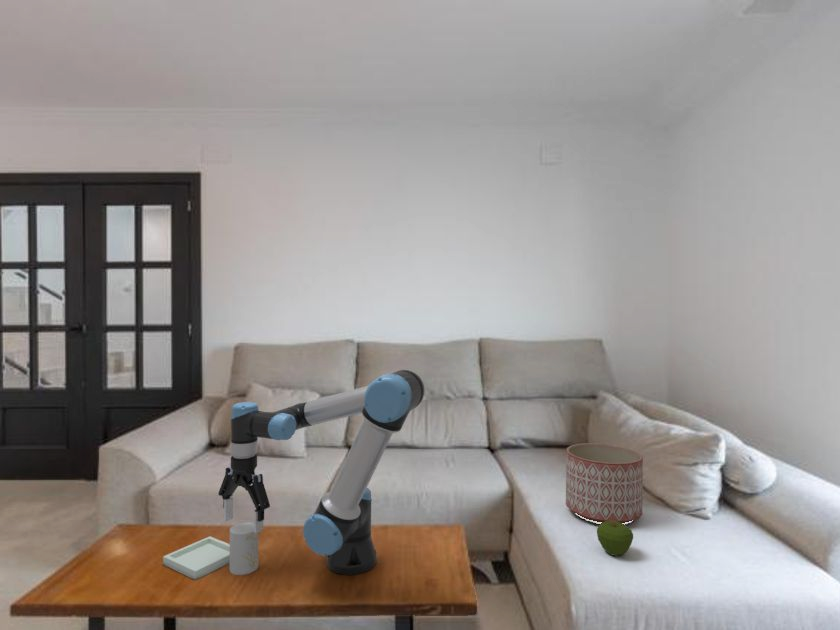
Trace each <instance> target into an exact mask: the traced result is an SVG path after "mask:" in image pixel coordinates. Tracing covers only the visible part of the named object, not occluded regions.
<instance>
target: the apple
mask: <svg viewBox="0 0 840 630" xmlns="http://www.w3.org/2000/svg"><path fill="white" fill-rule="evenodd" d="M596 535H597V539H598V541H599V543H600V545H601V547H602V549H604V550H605V551H606V552H607V553H608V552H609V553H608V554H610V555H612V554H613V555H612V556H616V555H617V556H622V555H624V554H626V553H627V552H628V550H629V549H630V547H631V545H632V543H633V539H634V533H633V531H632V529H631V528H630V527H628V525H624V524H622V523H620V522H617V521H605V522H603V523H601V524H600V525H598V527H597V529H596Z"/></svg>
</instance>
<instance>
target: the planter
mask: <svg viewBox="0 0 840 630" xmlns="http://www.w3.org/2000/svg"><path fill="white" fill-rule="evenodd" d="M565 457H566V459H565V460H566V462H565V464H566V465H565V506H566V507H567V508H568V510H570V511H572V512H573V513H574V512H575V513H577V514H578V515H580V516H582V517H584V518H586V519H589V520H593V521H597V522H602V523H603V522H605V521H617V522H620V523H625V522H629V521H632V520H634V521H636V520H639V518H640V517H642V515H643V492H644V491H643V486H644V483H643V481H644V480H643V479H644V478H643V476H644V475H643V474H644V456H643V455H642V454H641V452H638V451H636V450H634V449H632V448H628V447H625V446H621V445H615V444H608V443H599V442H598V443H597V442H596V443H594V442H590V443H589V442H586V443H576V444H572V445H570V446H568V447H566V455H565Z"/></svg>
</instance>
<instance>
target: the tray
mask: <svg viewBox="0 0 840 630" xmlns="http://www.w3.org/2000/svg"><path fill="white" fill-rule="evenodd" d="M162 565H163V566H165V567H166V568H170V569H172V570H173V571H175V572H177V573H179V574H181V575H184V576H186V577H188V578H190V579H192V580H193V581H196V580H199V579H201V578H202V577H205V576H206V575H208V574H211V573H213V572H214V571H216V570H218V569H220V568H222V567H224V566H227V565H230V543H227V542H225V541H223V540H220V539H218V538H215V537H213V536H211V535H210V536H207V537H205V538H203V539H201V540H198V541H196V542H193V543H192V544H188V545H187V546H184V547H182V548H179V549H178V550H175V551H172V552H170V553H168V554H166V555H163V556H162Z"/></svg>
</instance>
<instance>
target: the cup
mask: <svg viewBox="0 0 840 630" xmlns="http://www.w3.org/2000/svg"><path fill="white" fill-rule="evenodd" d="M229 544H230V563H229V573H230V574H232V575H234V576H245V575H249V574H251V573H254V572H255V571H257V569H258V568H259V532H257V533H254V522H251V521H250V522H249V521H248V522H246V521H245V522H240V523H237V524H234V525H233V526H231V527H230V528H229Z"/></svg>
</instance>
